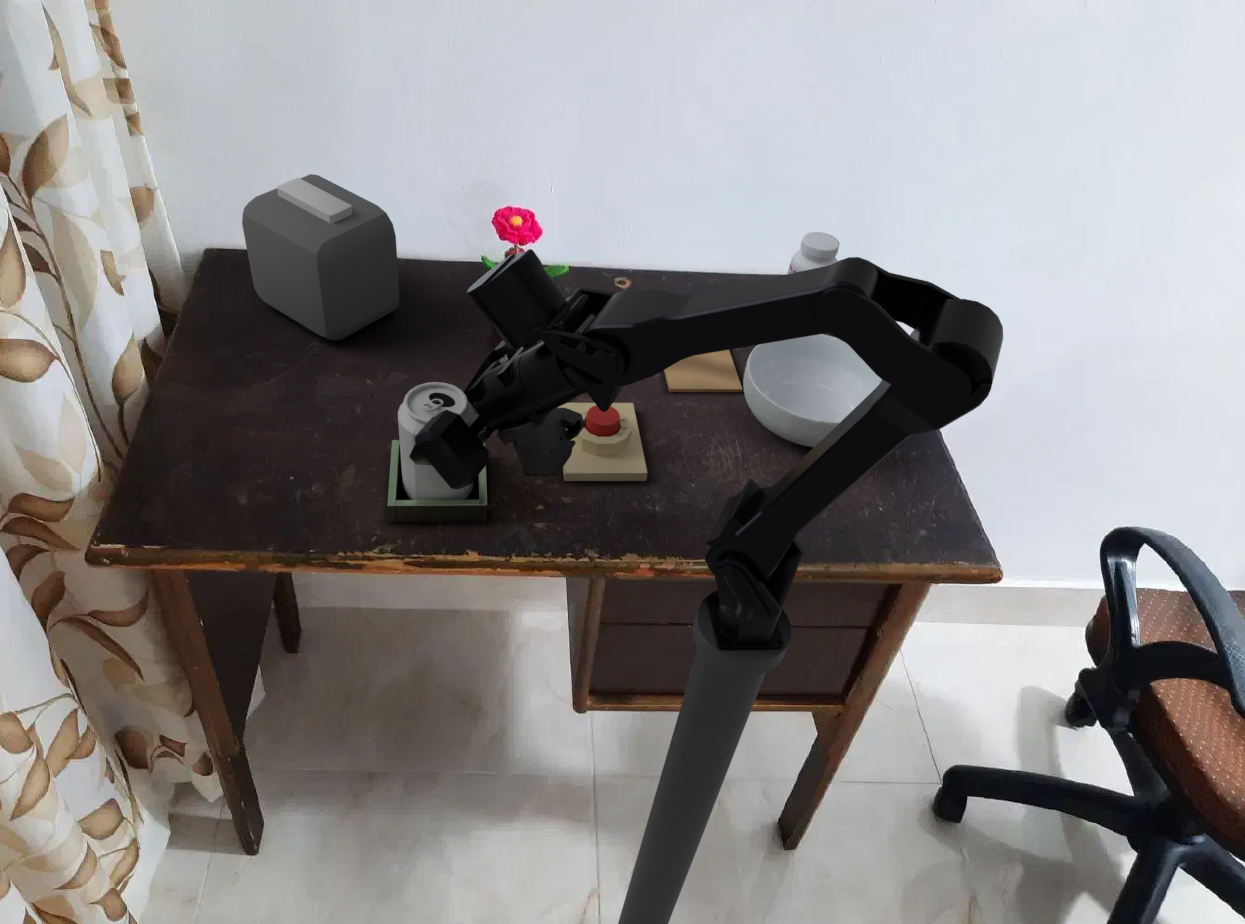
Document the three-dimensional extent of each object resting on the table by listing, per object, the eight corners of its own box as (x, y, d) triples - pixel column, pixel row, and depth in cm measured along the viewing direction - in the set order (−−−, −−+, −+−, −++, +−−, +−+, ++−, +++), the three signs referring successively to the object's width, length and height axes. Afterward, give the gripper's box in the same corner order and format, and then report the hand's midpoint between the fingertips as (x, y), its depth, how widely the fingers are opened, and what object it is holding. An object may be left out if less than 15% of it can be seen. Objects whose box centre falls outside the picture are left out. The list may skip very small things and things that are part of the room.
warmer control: (646, 481, 103) (649, 460, 101) (564, 481, 102) (566, 460, 100) (631, 410, 112) (635, 390, 109) (556, 410, 111) (557, 390, 109)
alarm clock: (400, 318, 122) (393, 205, 111) (333, 356, 115) (318, 240, 104) (316, 269, 128) (301, 158, 117) (248, 303, 122) (225, 189, 111)
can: (487, 482, 102) (489, 394, 93) (445, 523, 97) (443, 435, 88) (431, 455, 104) (428, 366, 95) (388, 493, 100) (380, 404, 91)
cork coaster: (741, 392, 115) (742, 389, 115) (669, 392, 114) (669, 389, 114) (727, 348, 121) (727, 345, 121) (658, 348, 121) (658, 344, 120)
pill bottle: (831, 325, 127) (855, 249, 119) (792, 332, 125) (814, 256, 117) (806, 300, 130) (828, 225, 122) (768, 307, 129) (788, 232, 121)
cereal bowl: (817, 491, 104) (835, 443, 99) (705, 413, 112) (716, 365, 107) (905, 429, 112) (925, 382, 107) (794, 361, 120) (808, 314, 115)
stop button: (619, 437, 104) (621, 425, 103) (587, 437, 104) (588, 425, 103) (615, 416, 107) (617, 404, 105) (584, 416, 106) (585, 404, 105)
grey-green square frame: (486, 521, 98) (487, 504, 96) (388, 522, 97) (387, 505, 95) (484, 456, 104) (485, 439, 103) (393, 456, 104) (391, 439, 102)
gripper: (551, 511, 81) (440, 551, 92) (632, 392, 93) (526, 440, 104) (470, 410, 77) (365, 464, 88) (565, 300, 89) (463, 359, 100)
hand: (437, 432), depth 95 cm, fingers open, 9 cm apart
